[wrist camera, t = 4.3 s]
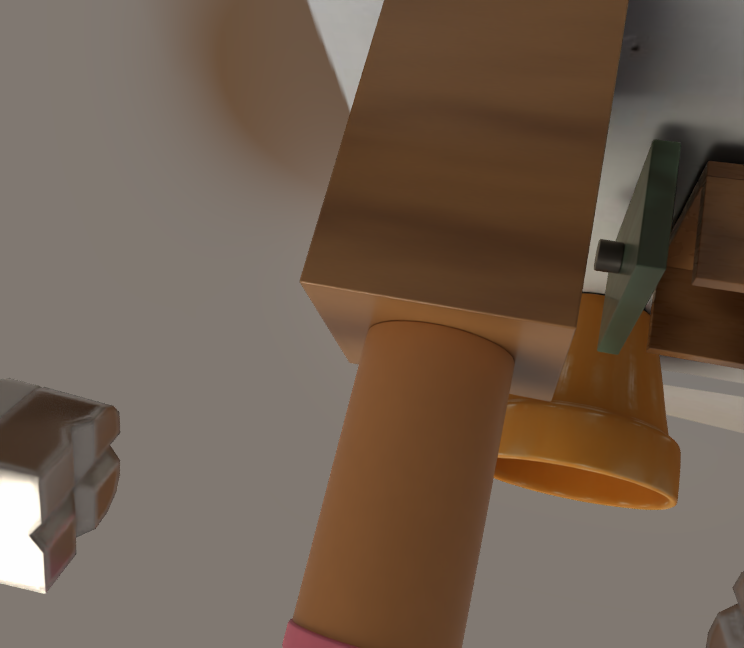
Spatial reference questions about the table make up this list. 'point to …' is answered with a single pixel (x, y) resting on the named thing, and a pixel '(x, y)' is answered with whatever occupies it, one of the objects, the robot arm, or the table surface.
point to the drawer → (679, 264)
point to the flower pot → (596, 425)
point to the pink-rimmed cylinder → (406, 493)
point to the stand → (471, 176)
